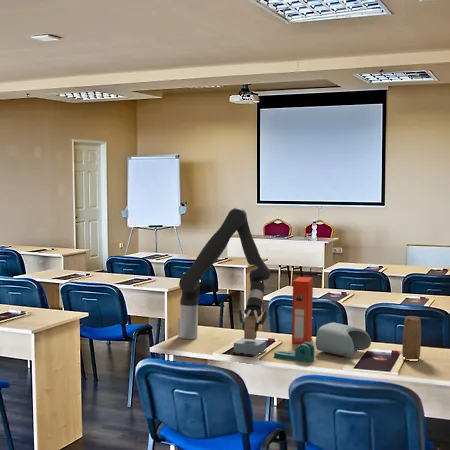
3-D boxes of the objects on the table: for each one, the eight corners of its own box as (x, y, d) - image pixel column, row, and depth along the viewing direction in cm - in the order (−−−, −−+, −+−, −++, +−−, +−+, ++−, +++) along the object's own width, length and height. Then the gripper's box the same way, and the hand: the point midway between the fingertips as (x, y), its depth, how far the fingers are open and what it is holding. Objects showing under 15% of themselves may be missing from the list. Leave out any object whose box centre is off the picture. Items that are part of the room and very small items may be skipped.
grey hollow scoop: (335, 345, 324) (337, 320, 323) (370, 353, 314) (372, 327, 312) (314, 353, 307) (316, 327, 305) (351, 362, 296) (353, 335, 295)
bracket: (314, 359, 297) (314, 342, 297) (309, 363, 291) (309, 345, 291) (277, 354, 305) (277, 338, 305) (272, 357, 299) (272, 340, 298)
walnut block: (246, 336, 312) (246, 316, 311) (256, 337, 311) (256, 316, 310) (244, 338, 307) (244, 317, 306) (254, 339, 306) (255, 318, 305)
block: (417, 363, 295) (419, 319, 294) (400, 361, 298) (402, 317, 297) (421, 357, 304) (423, 315, 303) (405, 355, 308) (407, 314, 307)
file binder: (291, 344, 326) (293, 280, 324) (296, 336, 342) (298, 276, 341) (307, 345, 324) (309, 281, 322) (311, 338, 340) (313, 277, 339)
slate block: (233, 353, 306) (233, 342, 306) (243, 347, 317) (243, 337, 317) (257, 356, 301) (257, 345, 301) (266, 350, 312) (266, 340, 312)
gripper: (239, 295, 317) (234, 324, 306) (268, 297, 313) (264, 327, 302) (241, 304, 322) (236, 333, 311) (270, 306, 319) (265, 335, 308)
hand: (249, 330), depth 307 cm, fingers closed on walnut block, 5 cm apart
